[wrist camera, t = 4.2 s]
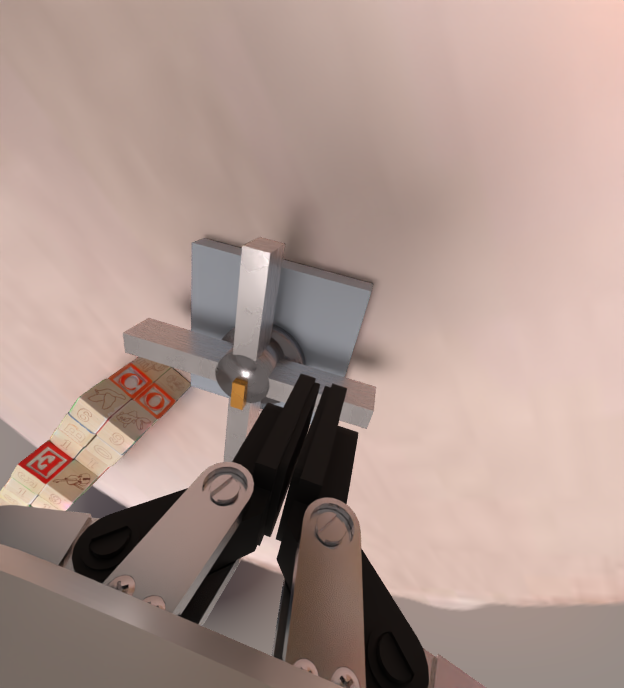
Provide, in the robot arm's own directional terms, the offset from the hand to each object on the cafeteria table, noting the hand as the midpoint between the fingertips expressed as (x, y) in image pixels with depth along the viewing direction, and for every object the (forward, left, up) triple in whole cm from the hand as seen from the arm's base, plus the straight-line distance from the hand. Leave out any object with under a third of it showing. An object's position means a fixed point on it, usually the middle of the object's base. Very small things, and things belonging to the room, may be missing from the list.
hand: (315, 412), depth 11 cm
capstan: (+8, -6, -15) cm, 18 cm away
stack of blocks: (+24, -23, -18) cm, 38 cm away
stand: (+8, -6, -17) cm, 20 cm away
